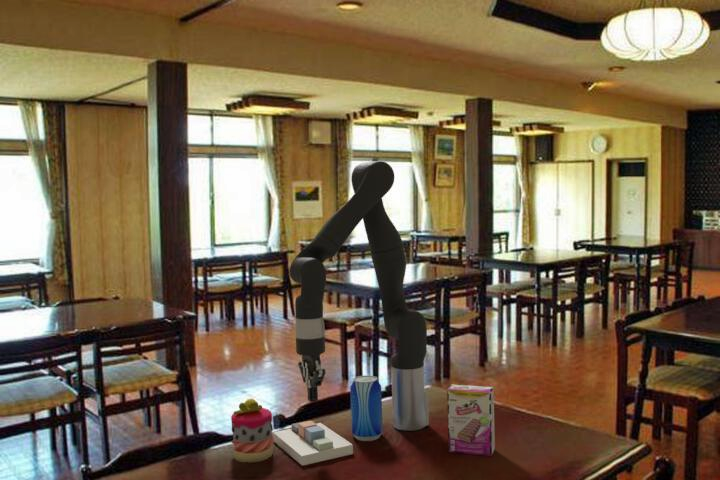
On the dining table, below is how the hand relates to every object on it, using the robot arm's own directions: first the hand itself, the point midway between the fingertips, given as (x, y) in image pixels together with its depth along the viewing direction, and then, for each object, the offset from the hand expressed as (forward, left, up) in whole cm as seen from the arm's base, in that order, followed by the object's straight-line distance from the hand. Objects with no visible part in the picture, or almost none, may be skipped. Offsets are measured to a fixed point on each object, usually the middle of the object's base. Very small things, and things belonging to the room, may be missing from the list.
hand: (312, 400), depth 175 cm
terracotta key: (0, -4, -11) cm, 12 cm away
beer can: (-16, -1, -13) cm, 21 cm away
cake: (+15, -5, -13) cm, 21 cm away
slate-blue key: (0, 0, -11) cm, 11 cm away
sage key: (0, +5, -13) cm, 14 cm away
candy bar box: (-33, +23, -13) cm, 42 cm away
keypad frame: (0, -2, -13) cm, 13 cm away
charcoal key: (0, -9, -13) cm, 16 cm away
